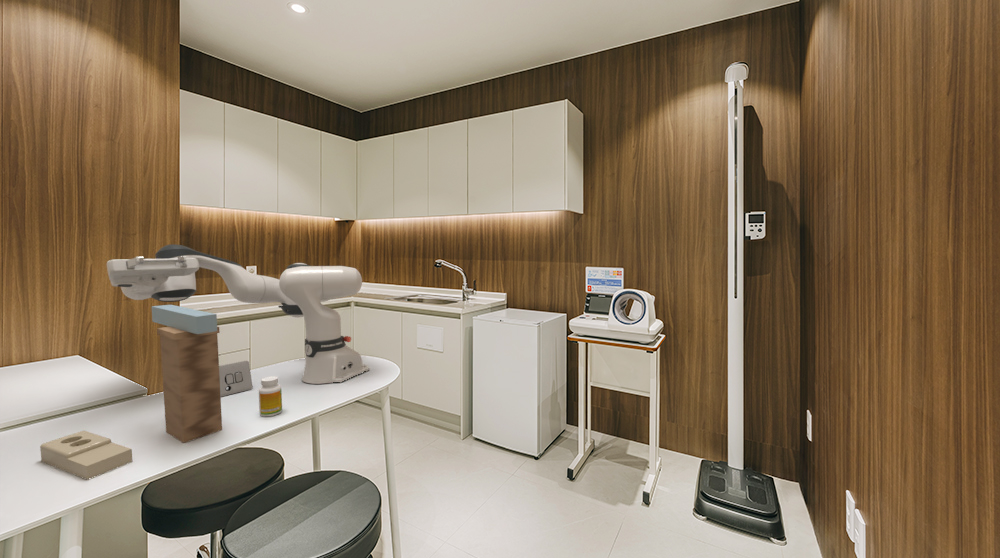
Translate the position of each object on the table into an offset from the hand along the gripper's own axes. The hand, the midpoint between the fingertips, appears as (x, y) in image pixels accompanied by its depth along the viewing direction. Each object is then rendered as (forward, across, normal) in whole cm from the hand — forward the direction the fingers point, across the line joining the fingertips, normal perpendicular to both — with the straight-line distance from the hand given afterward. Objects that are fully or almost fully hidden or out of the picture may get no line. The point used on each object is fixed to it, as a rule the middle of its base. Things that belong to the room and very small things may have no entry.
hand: (162, 258), depth 111 cm
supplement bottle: (+12, -14, -50) cm, 53 cm away
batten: (+15, +3, -23) cm, 27 cm away
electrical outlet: (+6, +21, -48) cm, 53 cm away
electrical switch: (-12, -14, -41) cm, 45 cm away
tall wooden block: (+8, +3, -48) cm, 49 cm away
